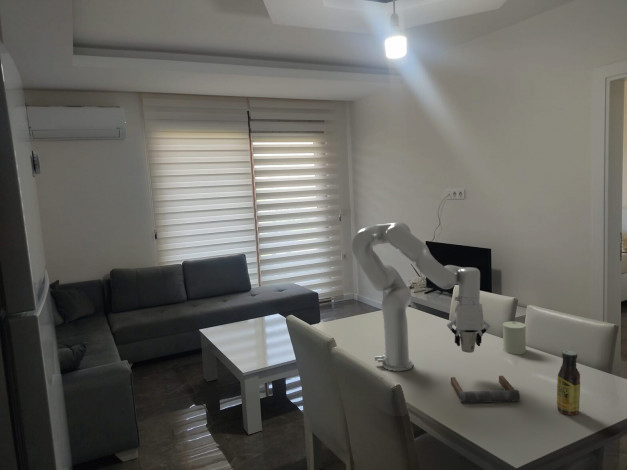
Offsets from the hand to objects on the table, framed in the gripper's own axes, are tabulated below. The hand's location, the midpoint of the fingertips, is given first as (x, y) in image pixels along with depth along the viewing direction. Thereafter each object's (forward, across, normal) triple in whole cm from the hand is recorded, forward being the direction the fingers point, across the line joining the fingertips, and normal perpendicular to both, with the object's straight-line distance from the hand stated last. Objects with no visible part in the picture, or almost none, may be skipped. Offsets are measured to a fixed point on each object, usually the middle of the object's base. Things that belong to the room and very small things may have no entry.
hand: (467, 344), depth 169 cm
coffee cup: (+3, 0, 0) cm, 3 cm away
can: (+12, +26, +22) cm, 37 cm away
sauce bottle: (+11, +23, -30) cm, 39 cm away
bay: (+12, +1, -15) cm, 19 cm away
